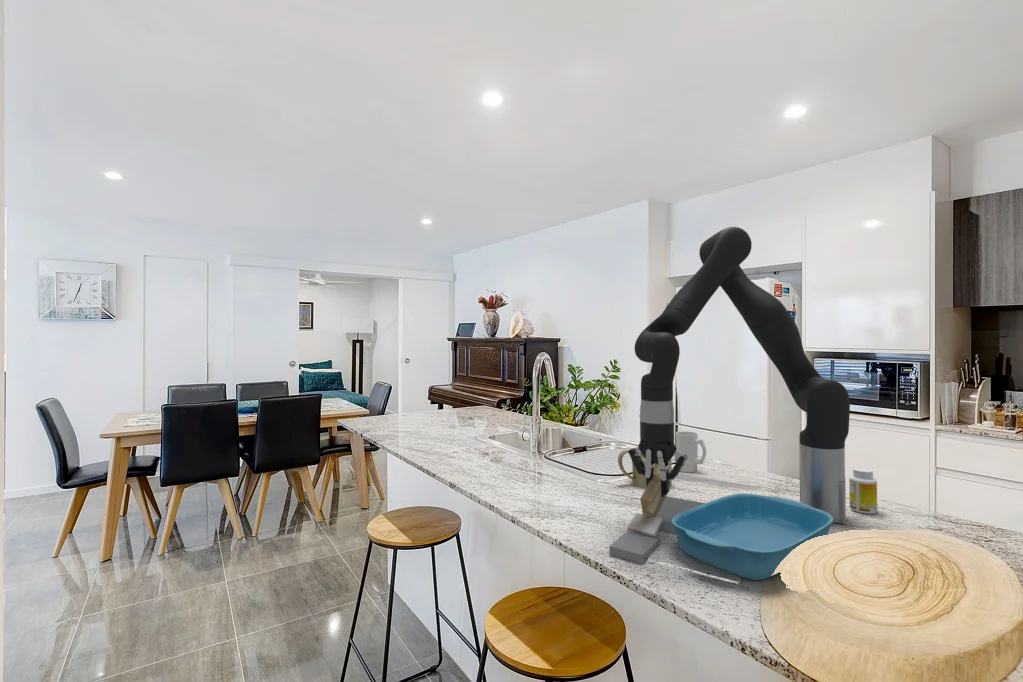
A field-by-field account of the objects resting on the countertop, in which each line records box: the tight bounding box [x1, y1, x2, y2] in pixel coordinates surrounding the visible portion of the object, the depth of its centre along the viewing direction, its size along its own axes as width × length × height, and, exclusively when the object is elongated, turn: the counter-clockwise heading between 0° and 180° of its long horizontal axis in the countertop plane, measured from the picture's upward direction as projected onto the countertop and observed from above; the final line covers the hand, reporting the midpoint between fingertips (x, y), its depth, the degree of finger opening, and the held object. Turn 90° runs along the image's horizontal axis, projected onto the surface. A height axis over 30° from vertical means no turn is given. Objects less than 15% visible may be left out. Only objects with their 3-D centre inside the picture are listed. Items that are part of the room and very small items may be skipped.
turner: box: [627, 467, 672, 538], centre depth 110 cm, size 6×17×5 cm, turn 144°
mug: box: [675, 430, 707, 474], centre depth 158 cm, size 10×7×12 cm, turn 39°
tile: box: [608, 530, 660, 565], centre depth 101 cm, size 7×2×9 cm
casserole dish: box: [672, 493, 833, 581], centre depth 101 cm, size 37×22×7 cm, turn 127°
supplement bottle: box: [848, 467, 878, 515], centre depth 121 cm, size 6×6×10 cm
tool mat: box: [641, 495, 706, 536], centre depth 120 cm, size 12×24×1 cm, turn 144°
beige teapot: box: [617, 449, 673, 490], centre depth 143 cm, size 15×11×15 cm
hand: (657, 494), depth 113 cm, fingers closed on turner
